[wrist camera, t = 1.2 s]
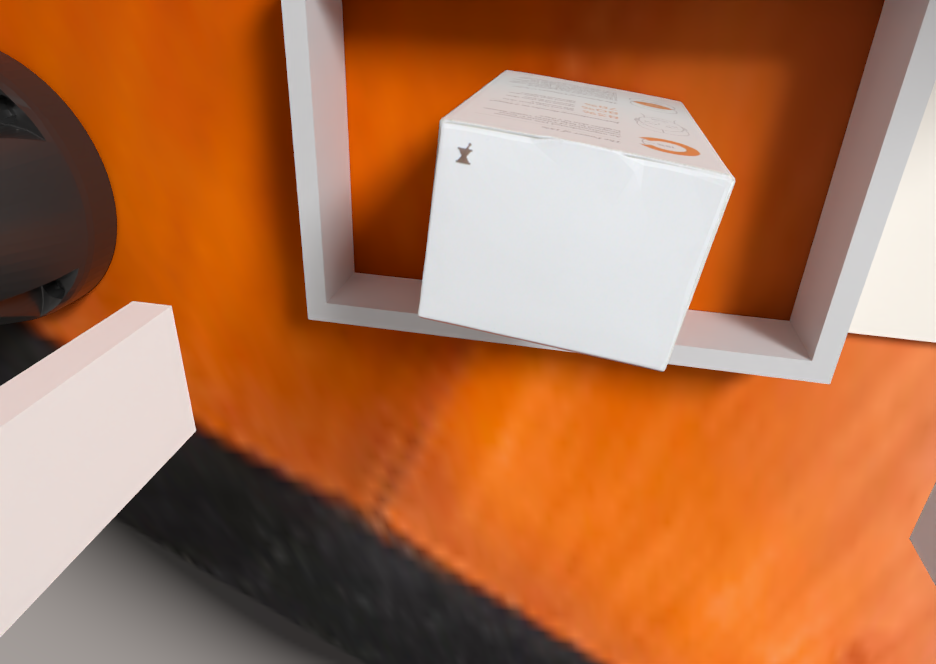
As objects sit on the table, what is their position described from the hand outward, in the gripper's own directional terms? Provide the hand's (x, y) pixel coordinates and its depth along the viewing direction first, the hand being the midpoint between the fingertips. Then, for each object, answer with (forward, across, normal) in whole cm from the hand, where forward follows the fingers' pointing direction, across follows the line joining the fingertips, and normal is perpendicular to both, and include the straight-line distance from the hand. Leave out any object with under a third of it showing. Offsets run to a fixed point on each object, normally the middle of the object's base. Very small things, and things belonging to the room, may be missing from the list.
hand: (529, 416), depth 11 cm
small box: (+22, 0, 0) cm, 22 cm away
